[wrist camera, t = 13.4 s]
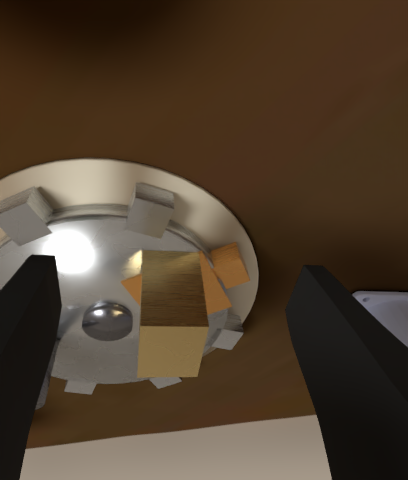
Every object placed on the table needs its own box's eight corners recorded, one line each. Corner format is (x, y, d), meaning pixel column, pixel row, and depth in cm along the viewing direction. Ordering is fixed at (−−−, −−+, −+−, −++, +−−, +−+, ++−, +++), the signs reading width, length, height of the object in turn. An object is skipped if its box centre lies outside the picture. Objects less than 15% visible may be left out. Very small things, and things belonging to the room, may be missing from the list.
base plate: (293, 172, 21) (295, 176, 20) (228, 372, 33) (229, 377, 33) (-109, 140, 17) (-114, 144, 17) (-17, 375, 30) (-18, 380, 29)
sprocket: (180, 122, 18) (188, 183, 13) (277, 332, 29) (298, 402, 24) (-123, 254, 21) (-195, 338, 16) (71, 398, 32) (58, 471, 27)
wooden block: (143, 250, 20) (140, 326, 16) (199, 252, 21) (209, 326, 17) (140, 301, 23) (137, 377, 19) (190, 302, 23) (197, 376, 19)
